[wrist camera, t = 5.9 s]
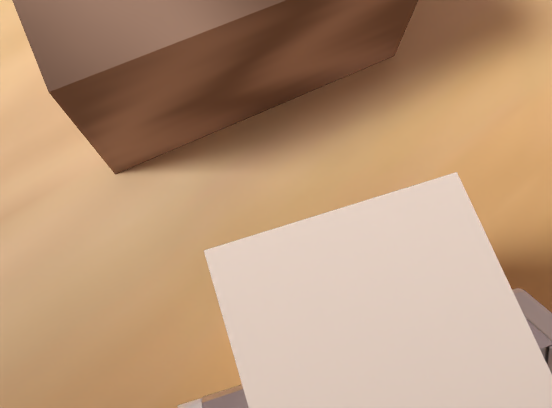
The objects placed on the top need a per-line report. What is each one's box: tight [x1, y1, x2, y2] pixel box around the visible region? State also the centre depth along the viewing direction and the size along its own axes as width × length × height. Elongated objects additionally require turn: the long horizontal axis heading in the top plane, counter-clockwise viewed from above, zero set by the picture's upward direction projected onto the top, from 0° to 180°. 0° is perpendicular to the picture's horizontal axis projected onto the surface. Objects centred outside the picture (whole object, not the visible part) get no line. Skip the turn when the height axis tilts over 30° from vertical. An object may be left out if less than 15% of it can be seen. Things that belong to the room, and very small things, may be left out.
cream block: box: [204, 172, 552, 408], centre depth 12 cm, size 4×4×9 cm
